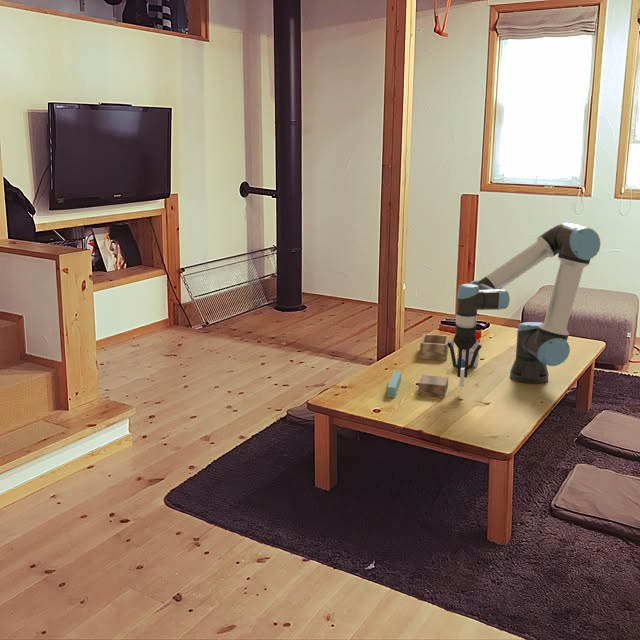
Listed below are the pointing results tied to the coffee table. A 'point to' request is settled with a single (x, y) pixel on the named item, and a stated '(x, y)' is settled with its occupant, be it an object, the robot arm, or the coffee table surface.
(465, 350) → the ink box
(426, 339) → the box
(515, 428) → the coffee table surface
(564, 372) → the coffee table surface
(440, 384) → the block
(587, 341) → the coffee table surface
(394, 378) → the teal long rectangular bar
